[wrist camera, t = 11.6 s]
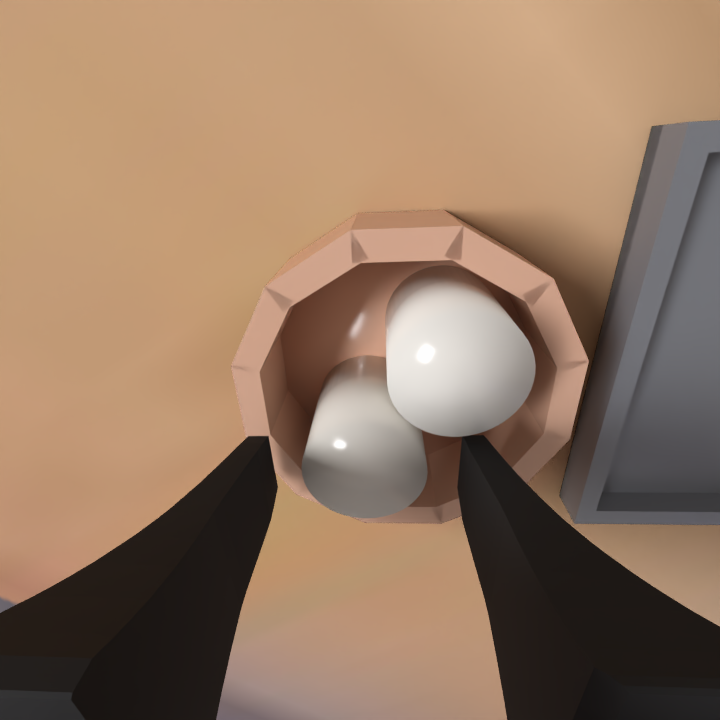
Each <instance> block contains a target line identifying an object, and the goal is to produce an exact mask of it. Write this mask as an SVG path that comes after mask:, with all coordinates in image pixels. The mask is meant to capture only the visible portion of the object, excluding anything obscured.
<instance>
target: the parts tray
mask: <svg viewBox="0 0 720 720" xmlns="http://www.w3.org/2000/svg"><path fill="white" fill-rule="evenodd" d="M559 496H560V497H561V499H562V501H563V503H564V505H565V507H566V509H567V511H568V513H569V514H570V516H571V518H572V520H573V522H574V523H576V524H680V525H720V120H718V121H698V122H684V123H676V124H668V125H659V126H652V128H651V132H650V136H649V140H648V144H647V148H646V152H645V156H644V160H643V164H642V168H641V172H640V176H639V180H638V184H637V188H636V192H635V196H634V200H633V204H632V208H631V212H630V216H629V220H628V224H627V228H626V232H625V236H624V240H623V244H622V248H621V252H620V256H619V260H618V264H617V268H616V272H615V276H614V280H613V284H612V288H611V292H610V296H609V300H608V304H607V308H606V312H605V316H604V320H603V324H602V328H601V332H600V336H599V340H598V344H597V348H596V352H595V356H594V360H593V364H592V368H591V372H590V376H589V380H588V384H587V388H586V392H585V396H584V399H583V403H582V407H581V411H580V415H579V419H578V423H577V427H576V431H575V435H574V439H573V443H572V447H571V451H570V455H569V459H568V463H567V467H566V471H565V475H564V479H563V483H562V487H561V491H560V495H559Z"/></svg>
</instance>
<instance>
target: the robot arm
mask: <svg viewBox="0 0 720 720" xmlns="http://www.w3.org/2000/svg"><path fill="white" fill-rule="evenodd" d="M277 488H278V486H277V480H276V475H275V469H274V464H273V458H272V452H271V447H270V441H269V436H248V437H247V438H246V439H245V440H244V441H243V442H242V443H241V444H240V445H239V446H238V447H237V448H236V449H235V450H234V451H233V452H232V453H231V454H230V455H229V456H228V457H227V458H226V459H225V460H224V461H223V462H221V463H220V464H219V465H218V466H217V467H216V468H215V469H214V470H213V471H212V472H211V473H210V474H209V475H208V476H207V477H206V478H205V479H204V480H203V481H202V482H200V483H199V484H198V485H197V486H196V487H195V488H194V489H192V490H191V491H190V492H189V493H188V494H187V495H186V496H184V497H183V498H182V499H181V500H180V501H179V502H177V503H176V504H175V505H174V506H173V507H172V508H170V509H169V510H168V511H167V512H165V513H164V514H163V515H161V516H160V517H159V518H158V519H156V520H155V521H154V522H152V523H151V524H150V525H148V526H147V527H145V528H144V529H143V530H141V531H140V532H139V533H137V534H136V535H134V536H133V537H132V538H130V539H128V540H127V541H125V542H124V543H122V544H121V545H119V546H118V547H116V548H115V549H113V550H112V551H110V552H109V553H107V554H106V555H104V556H103V557H101V558H99V559H98V560H96V561H95V562H93V563H92V564H90V565H88V566H87V567H85V568H83V569H81V570H80V571H78V572H76V573H75V574H73V575H71V576H70V577H68V578H66V579H64V580H62V581H61V582H59V583H57V584H55V585H53V586H52V587H50V588H48V589H46V590H44V591H42V592H41V593H39V594H37V595H35V596H33V597H31V598H29V599H27V600H25V601H23V602H21V603H19V604H17V605H15V606H13V607H11V608H9V609H8V610H5V611H3V612H2V613H0V720H216V717H217V712H218V707H219V702H220V697H221V692H222V688H223V683H224V679H225V674H226V670H227V666H228V661H229V657H230V652H231V648H232V644H233V640H234V635H235V631H236V627H237V623H238V619H239V615H240V611H241V607H242V604H243V601H244V597H245V594H246V591H247V588H248V585H249V582H250V579H251V576H252V573H253V571H254V568H255V565H256V562H257V559H258V556H259V553H260V550H261V547H262V545H263V542H264V539H265V536H266V533H267V530H268V527H269V524H270V521H271V517H272V512H273V508H274V503H275V498H276V493H277ZM457 489H458V496H459V502H460V508H461V514H462V520H463V524H464V528H465V531H466V535H467V538H468V542H469V546H470V549H471V553H472V556H473V560H474V563H475V567H476V570H477V574H478V577H479V581H480V584H481V588H482V591H483V595H484V598H485V602H486V606H487V610H488V615H489V620H490V625H491V630H492V635H493V641H494V646H495V651H496V657H497V662H498V668H499V673H500V679H501V685H502V690H503V696H504V702H505V708H506V714H507V720H720V627H719V626H718V625H716V624H714V623H712V622H710V621H709V620H707V619H705V618H703V617H702V616H700V615H698V614H696V613H695V612H693V611H691V610H690V609H688V608H686V607H685V606H683V605H681V604H680V603H678V602H677V601H675V600H673V599H672V598H670V597H669V596H667V595H666V594H664V593H662V592H661V591H659V590H658V589H656V588H655V587H653V586H651V585H650V584H648V583H647V582H645V581H644V580H642V579H641V578H639V577H638V576H637V575H635V574H634V573H632V572H631V571H629V570H628V569H626V568H625V567H624V566H622V565H621V564H620V563H618V562H617V561H615V560H614V559H613V558H611V557H610V556H608V555H607V554H606V553H604V552H603V551H602V550H600V549H599V548H598V547H596V546H595V545H594V544H593V543H591V542H590V541H589V540H588V539H586V538H585V537H584V536H583V535H581V534H580V533H579V532H578V531H577V530H575V529H574V528H573V527H572V526H571V525H569V524H568V523H567V522H566V521H565V520H564V519H562V518H561V517H560V516H559V515H558V514H557V513H556V512H555V511H554V510H553V509H552V508H551V507H549V506H548V505H547V504H546V503H545V502H544V501H543V500H542V499H541V498H540V497H539V496H538V495H537V494H536V493H535V492H534V491H533V490H532V489H531V488H530V487H529V486H528V485H527V484H526V482H525V481H524V480H523V479H522V478H521V477H520V476H519V475H518V474H517V473H516V472H515V471H514V470H513V468H512V467H511V466H510V465H509V464H508V463H507V462H506V461H505V459H504V458H503V457H502V456H501V455H500V454H499V452H498V451H497V450H496V449H495V448H494V447H493V445H492V444H491V443H490V442H489V441H488V439H487V438H486V437H485V436H484V435H469V436H462V442H461V453H460V464H459V475H458V485H457Z"/></svg>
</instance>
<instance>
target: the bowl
mask: <svg viewBox="0 0 720 720" xmlns="http://www.w3.org/2000/svg"><path fill="white" fill-rule="evenodd" d="M440 265H447V266H455V267H459V268H462V269H464V270H467V271H469V272H470V273H472V274H474V275H475V276H476V277H478V278H479V279H480V280H481V281H482V282H483V283H484V285H485V286H486V287H487V288H488V290H489V291H490V292H491V294H492V295H493V296H494V297H495V299H496V300H497V301H498V302H499V304H500V305H501V306H502V307H503V309H504V310H505V311H506V312H507V314H508V315H509V316H510V317H511V319H512V320H513V321H514V322H515V324H516V325H517V326H518V327H519V329H520V330H521V331H522V332H523V334H524V335H525V337H526V338H527V339H528V341H529V343H530V345H531V347H532V350H533V353H534V357H535V364H536V367H535V378H534V382H533V385H532V388H531V391H530V393H529V395H528V397H527V398H526V400H525V401H524V403H523V404H522V406H521V407H520V408H519V409H518V410H517V411H516V412H515V413H514V414H513V415H512V416H511V417H510V418H508V419H507V420H506V421H504V422H503V423H501V424H499V425H498V426H496V427H494V428H492V429H489V430H487V431H484V432H481V433H478V434H474V435H484V436H485V437H486V438H487V439H488V441H489V442H490V443H491V444H492V445H493V447H494V448H495V449H496V450H497V451H498V452H499V454H500V455H501V456H502V457H503V458H504V459H505V461H506V462H507V463H508V464H509V465H510V466H511V467H512V468H513V470H514V471H515V472H516V473H517V474H518V475H519V476H520V477H521V478H522V479H523V480H524V481H525V482H526V483H527V482H528V481H529V480H530V479H531V478H532V477H533V476H534V475H535V474H536V473H537V472H538V471H539V470H540V469H541V468H542V467H543V466H544V465H545V464H546V463H547V462H548V461H549V460H550V459H551V458H552V457H553V456H554V455H555V454H556V453H557V452H558V451H559V450H560V449H561V448H562V447H563V446H564V445H565V444H566V443H567V442H568V441H569V440H570V436H571V432H572V428H573V424H574V420H575V416H576V412H577V408H578V404H579V399H580V395H581V391H582V387H583V383H584V379H585V375H586V371H587V367H588V363H589V360H588V358H587V355H586V353H585V351H584V348H583V346H582V344H581V341H580V339H579V337H578V334H577V332H576V330H575V327H574V325H573V323H572V320H571V318H570V316H569V313H568V311H567V309H566V306H565V304H564V302H563V299H562V297H561V295H560V292H559V290H558V288H557V285H556V283H555V281H554V278H552V277H551V276H549V275H548V274H546V273H545V272H544V271H542V270H541V269H539V268H538V267H536V266H535V265H534V264H532V263H531V262H529V261H528V260H526V259H525V258H523V257H522V256H521V255H519V254H518V253H516V252H515V251H513V250H511V249H509V248H508V247H506V246H504V245H503V244H501V243H499V242H498V241H496V240H494V239H492V238H491V237H489V236H487V235H486V234H484V233H482V232H481V231H479V230H477V229H475V228H474V227H472V226H470V225H469V224H467V223H465V222H463V221H462V220H460V219H458V218H457V217H455V216H453V215H452V214H450V213H448V212H446V211H445V210H430V211H403V212H377V213H358V214H356V215H355V216H353V217H352V218H350V219H349V220H347V221H346V222H344V223H343V224H341V225H340V226H338V227H337V228H335V229H334V230H332V231H331V232H329V233H328V234H326V235H325V236H323V237H322V238H320V239H319V240H317V241H316V242H314V243H313V244H311V245H310V246H308V247H307V248H305V249H304V250H302V251H301V252H299V253H298V254H296V255H295V256H293V257H292V258H290V259H289V260H288V261H287V262H286V264H285V265H284V266H283V267H282V268H281V269H280V270H279V271H278V272H277V273H276V274H275V276H274V277H273V278H272V279H271V280H270V281H269V282H268V283H267V284H266V285H265V287H264V289H263V292H262V294H261V296H260V299H259V301H258V303H257V306H256V308H255V310H254V313H253V315H252V318H251V320H250V322H249V325H248V327H247V329H246V332H245V334H244V336H243V339H242V341H241V344H240V346H239V348H238V351H237V353H236V355H235V358H234V360H233V363H232V365H231V369H232V373H233V378H234V383H235V388H236V392H237V397H238V402H239V406H240V411H241V416H242V421H243V425H244V430H245V435H246V438H247V437H248V436H269V441H270V447H271V452H272V458H273V464H274V469H275V472H276V473H277V474H278V475H279V476H280V477H281V478H282V479H283V480H284V482H285V483H286V484H287V485H288V486H289V487H290V488H291V489H292V490H293V491H294V492H295V494H296V495H299V496H301V497H304V498H306V499H308V500H311V501H313V502H316V503H318V504H321V503H320V502H318V501H317V500H316V499H315V498H314V497H313V496H312V494H311V493H310V492H309V490H308V489H307V487H306V485H305V483H304V480H303V476H302V468H301V467H302V460H303V456H304V452H305V448H306V445H307V441H308V437H309V433H310V429H311V426H312V422H313V418H314V414H315V411H316V407H317V403H318V399H319V395H320V392H321V388H322V384H323V382H324V380H325V378H326V376H327V375H328V373H329V372H330V371H331V370H332V369H333V368H334V367H335V366H336V365H338V364H339V363H341V362H342V361H345V360H347V359H349V358H352V357H357V356H364V355H372V356H379V357H383V358H386V333H385V314H386V308H387V304H388V302H389V299H390V297H391V295H392V294H393V292H394V290H395V289H396V288H397V287H398V285H399V284H400V283H401V282H402V281H403V280H405V279H406V278H407V277H408V276H410V275H412V274H413V273H415V272H417V271H419V270H422V269H424V268H428V267H432V266H440ZM422 434H423V441H424V448H425V455H426V462H427V471H428V474H427V481H426V484H425V487H424V489H423V491H422V492H421V494H420V495H419V497H418V498H417V499H416V500H415V501H414V502H413V503H412V504H410V505H409V506H408V507H406V508H405V509H403V510H401V511H399V512H397V513H394V514H391V515H388V516H384V517H378V518H356V517H352V518H355V519H357V520H360V521H362V522H365V523H433V524H442V523H444V522H447V521H450V520H452V519H455V518H458V517H460V516H462V514H461V508H460V502H459V496H458V489H457V485H458V475H459V464H460V453H461V442H462V436H461V437H449V436H440V435H435V434H432V433H429V432H426V431H423V430H422ZM321 505H322V504H321ZM323 506H324V505H323Z"/></svg>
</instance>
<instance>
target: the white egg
mask: <svg viewBox="0 0 720 720" xmlns="http://www.w3.org/2000/svg"><path fill="white" fill-rule="evenodd" d="M385 333H386V365H387V386H388V392H389V395H390V398H391V400H392V402H393V404H394V406H395V408H396V409H397V411H398V412H399V413H400V414H401V415H402V416H403V417H404V418H405V419H406V420H407V421H408V422H409V423H411V424H412V425H414V426H415V427H417V428H419V429H421V430H423V431H426V432H429V433H432V434H435V435H440V436H449V437H461V436H469V435H474V434H478V433H481V432H484V431H487V430H489V429H492V428H494V427H496V426H498V425H499V424H501V423H503V422H504V421H506V420H507V419H508V418H510V417H511V416H512V415H513V414H514V413H515V412H516V411H517V410H518V409H519V408H520V407H521V406H522V404H523V403H524V401H525V400H526V398H527V397H528V395H529V393H530V391H531V388H532V385H533V382H534V378H535V367H536V364H535V357H534V353H533V350H532V347H531V345H530V343H529V341H528V339H527V338H526V337H525V335H524V334H523V332H522V331H521V330H520V329H519V327H518V326H517V325H516V324H515V322H514V321H513V320H512V319H511V317H510V316H509V315H508V314H507V312H506V311H505V310H504V309H503V307H502V306H501V305H500V304H499V302H498V301H497V300H496V299H495V297H494V296H493V295H492V294H491V292H490V291H489V290H488V288H487V287H486V286H485V285H484V283H483V282H482V281H481V280H480V279H479V278H478V277H476V276H475V275H474V274H472V273H470V272H469V271H467V270H464V269H462V268H459V267H455V266H447V265H440V266H432V267H428V268H424V269H422V270H419V271H417V272H415V273H413V274H412V275H410V276H408V277H407V278H406V279H405V280H403V281H402V282H401V283H400V284H399V285H398V287H397V288H396V289H395V290H394V292H393V294H392V295H391V297H390V299H389V302H388V304H387V308H386V314H385Z"/></svg>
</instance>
